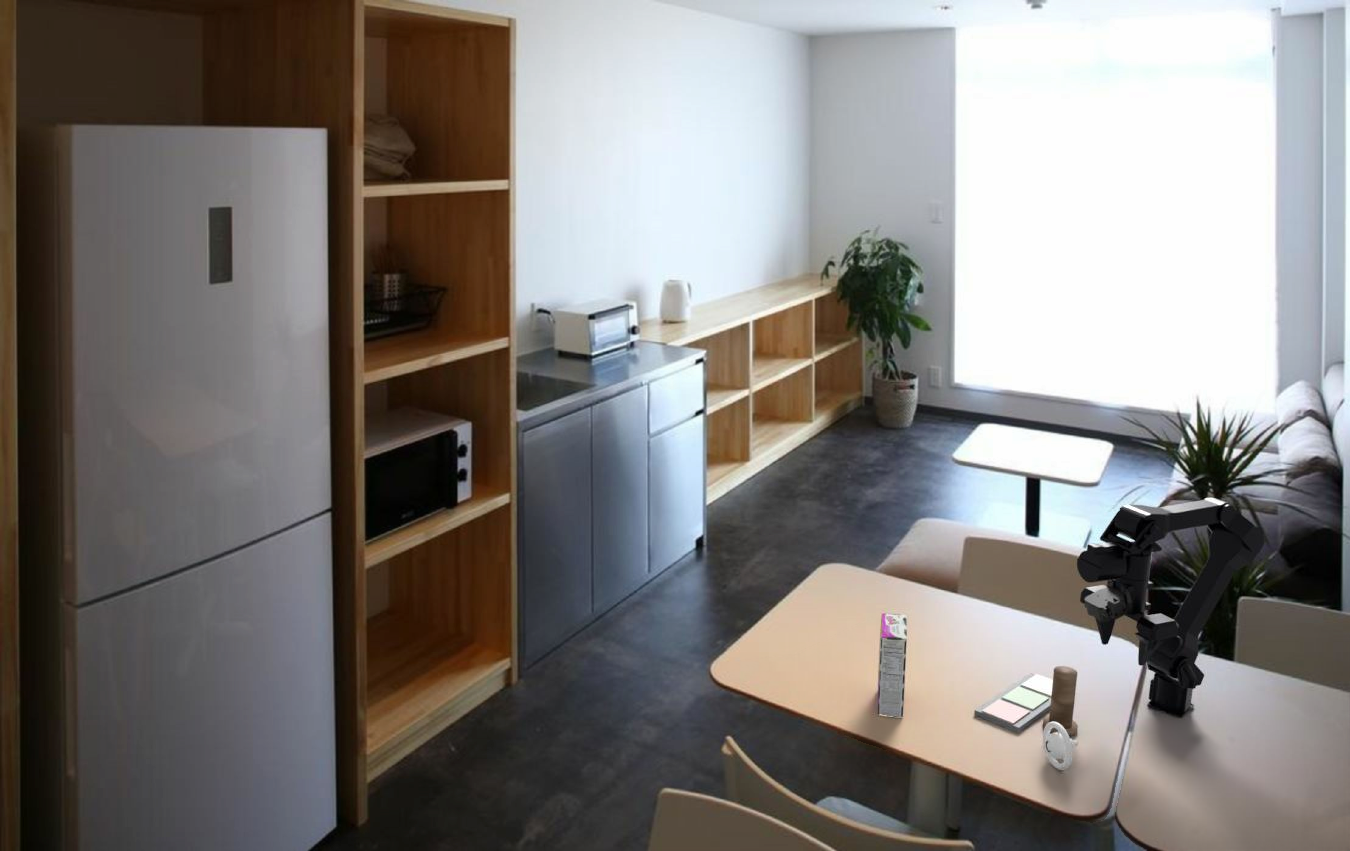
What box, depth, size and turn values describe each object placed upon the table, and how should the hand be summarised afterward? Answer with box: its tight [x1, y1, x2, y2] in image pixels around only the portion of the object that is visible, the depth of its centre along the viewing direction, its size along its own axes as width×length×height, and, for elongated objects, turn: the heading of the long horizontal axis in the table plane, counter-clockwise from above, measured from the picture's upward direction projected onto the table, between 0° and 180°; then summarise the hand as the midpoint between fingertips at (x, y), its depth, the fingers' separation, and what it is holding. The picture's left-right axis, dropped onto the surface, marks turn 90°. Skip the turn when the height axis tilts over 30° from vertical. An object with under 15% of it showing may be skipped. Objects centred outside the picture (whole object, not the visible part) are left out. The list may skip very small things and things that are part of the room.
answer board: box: [973, 672, 1053, 733], centre depth 201 cm, size 9×22×1 cm, turn 135°
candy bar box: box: [877, 612, 908, 718], centre depth 199 cm, size 11×5×16 cm, turn 168°
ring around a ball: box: [1042, 721, 1079, 771], centre depth 179 cm, size 8×6×8 cm
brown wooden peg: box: [1042, 665, 1079, 738], centre depth 191 cm, size 6×6×12 cm
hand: (1122, 654), depth 193 cm, fingers open, 9 cm apart
